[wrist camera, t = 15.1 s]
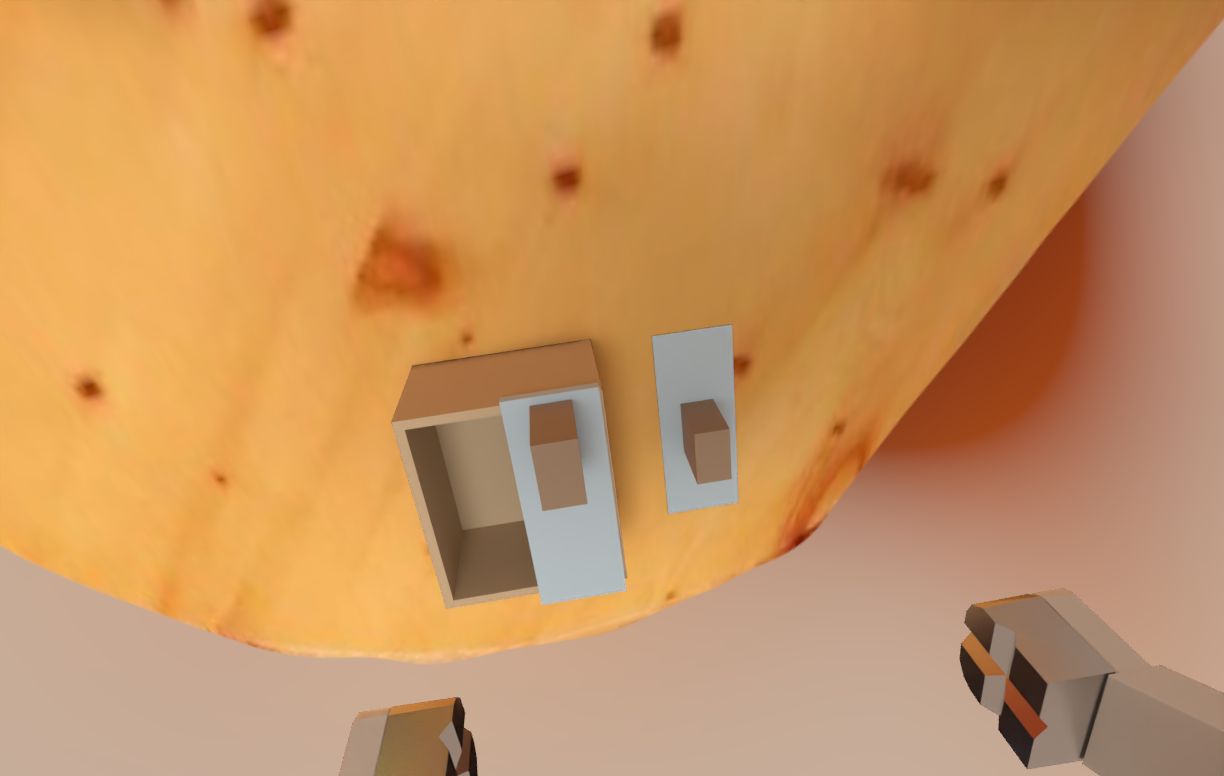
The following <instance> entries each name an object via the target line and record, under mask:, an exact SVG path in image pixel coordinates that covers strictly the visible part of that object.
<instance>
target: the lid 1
mask: <svg viewBox="0 0 1224 776" xmlns="http://www.w3.org/2000/svg"><path fill="white" fill-rule="evenodd" d="M499 404H500V409H501V413H502V418H503V423H504V428H505V432H506V437H507V442H508V446H509V451H510V456H511V461H512V465H513V470H514V475H515V480H516V484H517V489H518V494H519V499H520V503H521V508H522V513H523V518H524V522H525V527H526V532H527V536H528V541H529V546H530V551H531V555H532V560H533V565H534V570H535V574H536V579H537V584H538V589H539V593H540V598H541V603H542V605H545V604H551V603H557V602H563V601H569V600H575V599H580V598H586V597H592V596H598V595H604V594H609V593H615V592H621V591H627V590H626V583H625V576H624V568H623V561H622V554H621V546H620V539H619V532H618V524H617V517H616V510H615V502H614V495H613V488H612V480H611V473H610V465H609V458H608V451H607V443H606V436H605V429H604V421H603V414H602V407H601V399H600V392H599V386H598V383H591V384H585V385H578V386H572V387H565V388H559V389H552V390H546V391H539V392H533V393H526V394H520V395H513V396H507V397H500V398H499Z"/></svg>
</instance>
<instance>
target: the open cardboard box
mask: <svg viewBox="0 0 1224 776" xmlns="http://www.w3.org/2000/svg"><path fill="white" fill-rule="evenodd" d="M591 383H598V386H599V392H600V399H601V407H602V414H603V421H604V429H605V436H606V443H607V451H608V458H609V465H610V473H611V480H612V488H613V495H614V502H615V510H616V517H617V524H618V532H619V539H620V546H621V554H622V561H623V568H624V576H625V578H627V571H626V563H625V556H624V548H623V541H622V533H621V526H620V518H619V511H618V503H617V496H616V488H615V481H614V474H613V466H612V459H611V451H610V444H609V436H608V429H607V421H606V414H605V406H604V399H603V391H602V387H601V382H600V378H599V374H598V370H597V366H596V362H595V358H594V354H593V349H592V345H591V341H590V339H588V340H581V341H575V342H568V343H562V344H555V345H548V346H542V347H535V348H528V349H522V350H515V351H508V352H502V353H495V354H488V355H482V356H475V357H468V358H462V359H455V360H448V361H442V362H435V363H428V364H422V365H415V366H412V368H411V371H410V374H409V376H408V379H407V382H406V384H405V387H404V390H403V392H402V395H401V398H400V400H399V403H398V406H397V408H396V411H395V414H394V416H393V419H392V422H391V424H392V427H393V430H394V434H395V437H396V441H397V444H398V447H399V451H400V454H401V457H402V461H403V464H404V468H405V471H406V474H407V478H408V481H409V485H410V488H411V491H412V495H413V498H414V502H415V505H416V508H417V512H418V515H419V518H420V522H421V525H422V529H423V532H424V535H425V539H426V542H427V546H428V549H429V552H430V556H431V559H432V562H433V566H434V569H435V573H436V576H437V579H438V583H439V586H440V590H441V593H442V596H443V600H444V603H445V607H446V609H449V608H455V607H461V606H467V605H472V604H478V603H484V602H490V601H496V600H502V599H508V598H513V597H519V596H525V595H531V594H537V593H539V589H538V584H537V579H536V574H535V570H534V565H533V560H532V555H531V551H530V546H529V541H528V536H527V532H526V527H525V522H524V518H523V513H522V508H521V503H520V499H519V494H518V489H517V484H516V480H515V475H514V470H513V465H512V461H511V456H510V451H509V446H508V442H507V437H506V432H505V428H504V423H503V418H502V413H501V409H500V404H499V398H500V397H507V396H513V395H520V394H526V393H533V392H539V391H546V390H552V389H559V388H565V387H572V386H578V385H585V384H591Z"/></svg>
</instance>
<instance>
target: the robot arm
mask: <svg viewBox="0 0 1224 776" xmlns="http://www.w3.org/2000/svg"><path fill="white" fill-rule="evenodd" d="M964 623H965V624H966V626H967V627H968V628H969V629H970V631H971V633H970V634H969V635H968V636H967V637H966V639H965V640H964V641H963V642H962V643H961V649H960V663H961V668H962V671H963V676H964V678H965V680H966V682H967V684H968V686H969V688H970V690H971V692H972V693H973V695H974V696H975V698H976V699H977V701H978V702H979V703H980V705H982V706H984V707H986V708H987V709H989V710H991V711H992V712H994V713H996V714H998V715H999V725H998V726H999V727H998V730H999V731H1000V733H1001V734H1002V735H1003V737H1004V738H1005V739H1006V741H1007V742H1008V744H1009V745H1010V746H1011V748H1012V749H1013V751H1014V752H1015V753H1016V755H1017V756H1018V757H1019V759H1020V760H1021V762H1022V763H1023V764H1024V766H1025V767H1026V768H1027V769H1032V768H1038V767H1045V766H1051V765H1057V764H1063V763H1069V762H1076V761H1082V760H1083V763H1082V764H1084V765H1085V766H1087V767H1088V768H1089V769H1091V770H1092V771H1094V772H1095V773H1097V774H1098V775H1100V776H1224V693H1223V692H1220V691H1218V690H1216V689H1214V688H1211V687H1209V686H1207V685H1205V684H1202V683H1200V682H1198V681H1196V680H1193V679H1191V678H1189V677H1187V676H1184V675H1182V674H1180V673H1178V672H1175V671H1173V670H1171V669H1169V668H1167V667H1164V666H1162V665H1159V666H1153V667H1152V666H1151V665H1150V664H1148V663H1147V662H1146V661H1145V660H1144V659H1143V658H1142V657H1141V656H1140V655H1139V654H1138V653H1137V652H1136V651H1134V650H1133V649H1132V648H1131V647H1130V646H1129V645H1128V644H1127V643H1126V642H1125V641H1124V640H1123V639H1122V638H1121V637H1120V636H1119V635H1118V634H1117V633H1116V632H1114V631H1113V630H1112V629H1111V628H1110V627H1109V626H1108V625H1107V624H1106V623H1105V622H1104V621H1103V620H1102V619H1101V618H1100V617H1099V616H1098V615H1096V614H1095V613H1094V612H1093V611H1092V610H1091V609H1090V608H1089V607H1088V606H1087V605H1086V604H1085V603H1084V602H1082V600H1081V599H1079V598H1078V597H1077V596H1076V595H1075V594H1074V593H1073V592H1071V591H1069V590H1067V589H1065V588H1061V589H1055V590H1049V591H1044V592H1038V593H1034V594H1025V595H1020V596H1014V597H1010V598H1004V599H999V600H994V601H988V602H983V603H978V604H973V605H971V606H970V608H969V609H968V610H967V611H966V617H965V622H964ZM464 720H465V710H464V707H463V705H462V702H461V699H460V698H459V697H454V698H448V699H441V700H435V701H428V702H421V703H415V704H408V705H401V706H394V707H391V708H384V709H378V710H372V711H365V712H359V714H358V715H357V717H356V718H355V720H354V722H353V723H352V727H351V731H350V735H349V739H348V743H347V746H346V750H345V754H344V757H343V761H342V765H341V769H340V772H339V776H478V774H477V756H476V750H475V744H474V740H473V737H472V733H471V732H470V731H469V730H467V729H465V728H464Z"/></svg>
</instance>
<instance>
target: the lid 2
mask: <svg viewBox="0 0 1224 776" xmlns="http://www.w3.org/2000/svg"><path fill="white" fill-rule="evenodd" d="M652 345H653V356H654V366H655V377H656V388H657V399H658V409H659V420H660V431H661V441H662V452H663V463H664V474H665V484H666V495H667V506H668V514H671V513H678V512H684V511H690V510H696V509H702V508H708V507H714V506H721V505H727V504H733V503H738V477H737V449H736V421H735V394H734V366H733V339H732V324H728V325H722V326H715V327H708V328H702V329H695V330H688V331H682V332H675V333H668V334H662V335H655V336H652Z"/></svg>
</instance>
